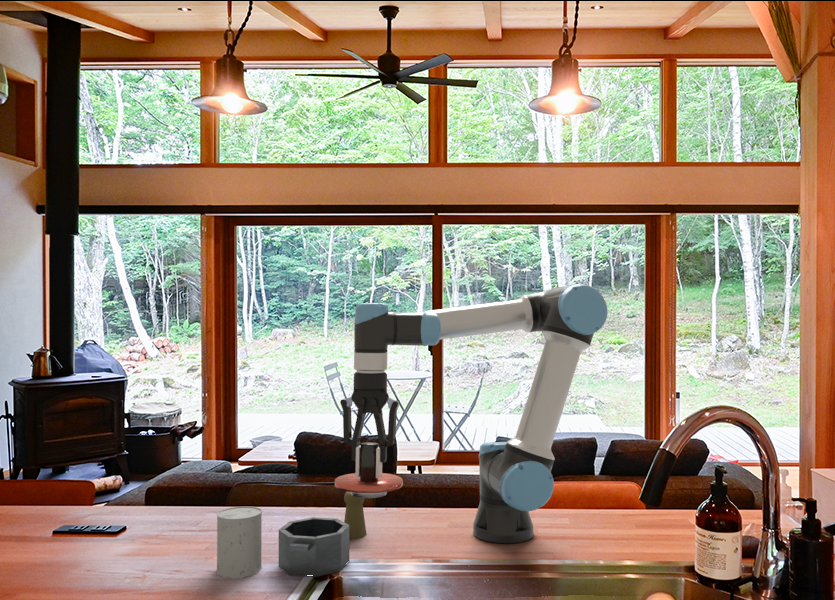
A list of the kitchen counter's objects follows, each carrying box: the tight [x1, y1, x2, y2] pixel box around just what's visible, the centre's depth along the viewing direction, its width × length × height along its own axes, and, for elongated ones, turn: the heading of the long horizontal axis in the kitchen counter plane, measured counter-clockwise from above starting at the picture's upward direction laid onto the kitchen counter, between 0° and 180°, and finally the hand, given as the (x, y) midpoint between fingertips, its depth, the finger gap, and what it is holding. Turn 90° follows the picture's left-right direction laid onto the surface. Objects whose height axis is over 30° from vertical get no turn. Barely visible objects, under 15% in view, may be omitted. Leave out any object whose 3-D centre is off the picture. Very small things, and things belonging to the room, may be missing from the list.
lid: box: [334, 441, 404, 499], centre depth 146 cm, size 15×15×11 cm
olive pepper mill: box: [343, 491, 367, 540], centre depth 166 cm, size 6×6×11 cm
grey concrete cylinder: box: [216, 505, 263, 579], centre depth 143 cm, size 10×10×12 cm
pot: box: [278, 516, 350, 578], centre depth 146 cm, size 14×19×8 cm
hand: (368, 476), depth 146 cm, fingers closed on lid, 4 cm apart
